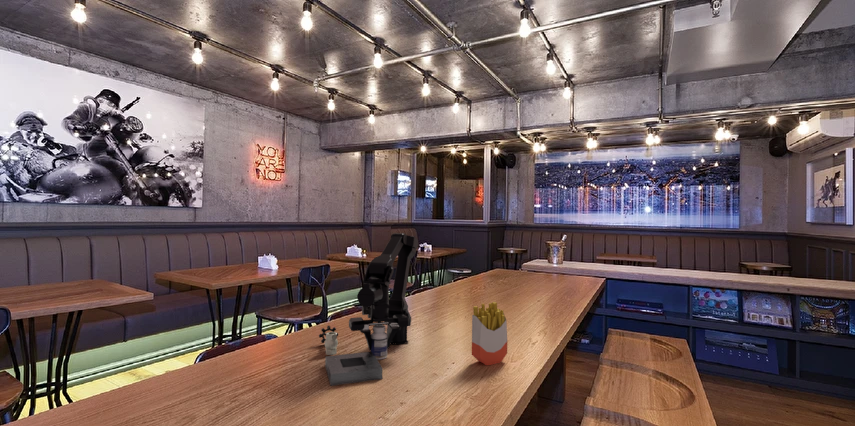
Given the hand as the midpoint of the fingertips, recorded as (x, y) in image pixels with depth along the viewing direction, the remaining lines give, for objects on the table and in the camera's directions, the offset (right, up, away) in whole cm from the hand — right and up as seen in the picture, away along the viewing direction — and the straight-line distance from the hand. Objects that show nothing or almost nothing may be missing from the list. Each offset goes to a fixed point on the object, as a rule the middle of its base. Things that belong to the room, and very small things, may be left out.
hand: (378, 349), depth 124 cm
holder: (-6, -2, -13) cm, 14 cm away
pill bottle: (0, -3, 0) cm, 3 cm away
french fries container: (+35, -3, -3) cm, 35 cm away
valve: (-17, -3, +7) cm, 19 cm away
